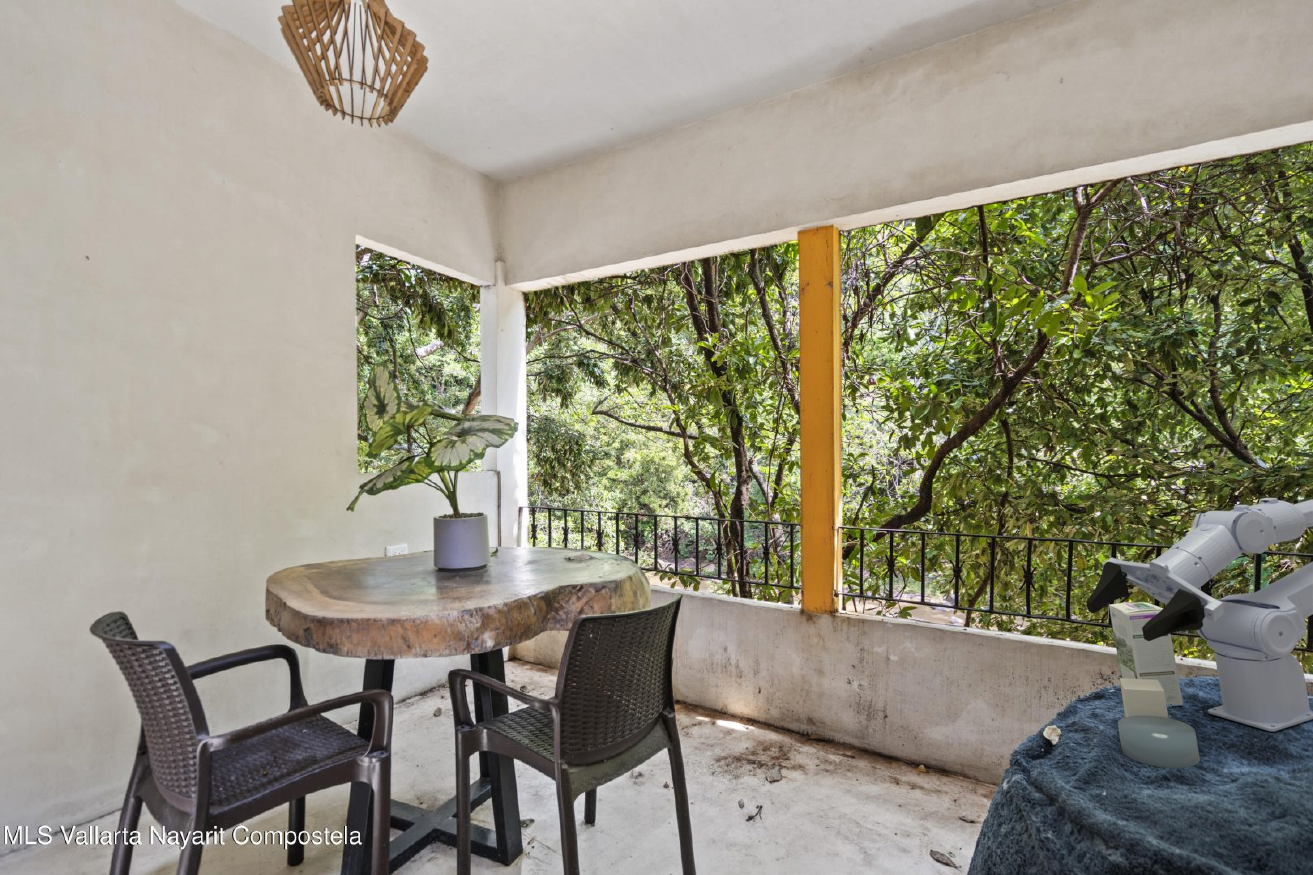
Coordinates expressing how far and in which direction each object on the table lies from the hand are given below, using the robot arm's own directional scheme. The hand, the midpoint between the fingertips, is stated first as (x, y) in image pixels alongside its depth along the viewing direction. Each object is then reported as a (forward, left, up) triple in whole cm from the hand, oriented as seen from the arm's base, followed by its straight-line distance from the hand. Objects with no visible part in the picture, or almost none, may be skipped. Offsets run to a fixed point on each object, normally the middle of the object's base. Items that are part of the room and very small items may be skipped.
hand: (1116, 620), depth 87 cm
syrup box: (-15, -9, -17) cm, 24 cm away
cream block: (-6, -3, -16) cm, 18 cm away
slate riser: (0, +3, -17) cm, 17 cm away
